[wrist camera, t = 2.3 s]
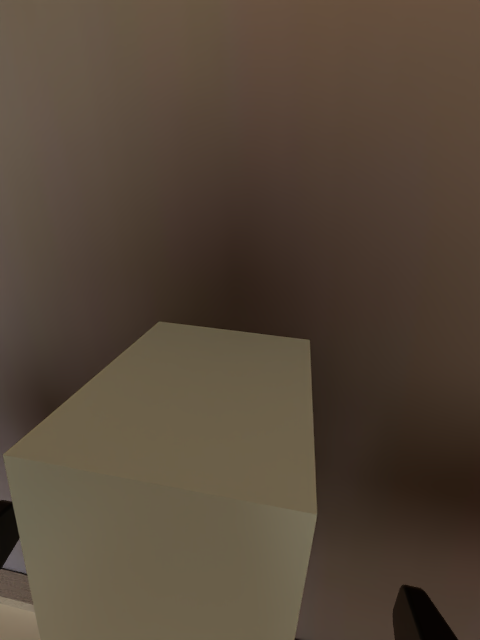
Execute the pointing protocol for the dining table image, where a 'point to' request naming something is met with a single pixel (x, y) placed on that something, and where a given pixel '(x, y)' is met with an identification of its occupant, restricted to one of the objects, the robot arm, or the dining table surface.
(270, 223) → the dining table surface
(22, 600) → the rail plate
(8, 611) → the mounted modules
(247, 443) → the block
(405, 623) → the robot arm
